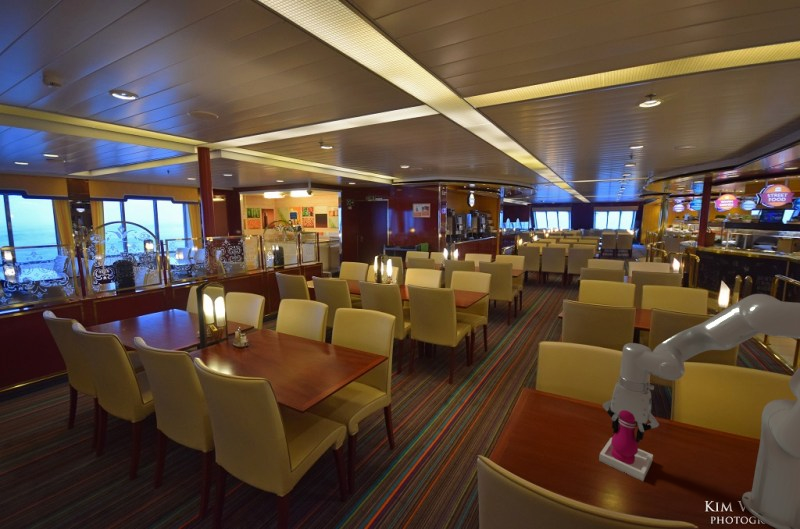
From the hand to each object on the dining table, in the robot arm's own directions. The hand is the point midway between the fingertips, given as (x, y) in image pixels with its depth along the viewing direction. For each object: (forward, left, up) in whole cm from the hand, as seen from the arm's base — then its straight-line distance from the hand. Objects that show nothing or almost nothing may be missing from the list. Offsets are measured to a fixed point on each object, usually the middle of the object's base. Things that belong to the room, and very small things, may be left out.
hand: (626, 435), depth 110 cm
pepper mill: (0, 0, -8) cm, 8 cm away
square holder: (0, 0, -9) cm, 9 cm away
